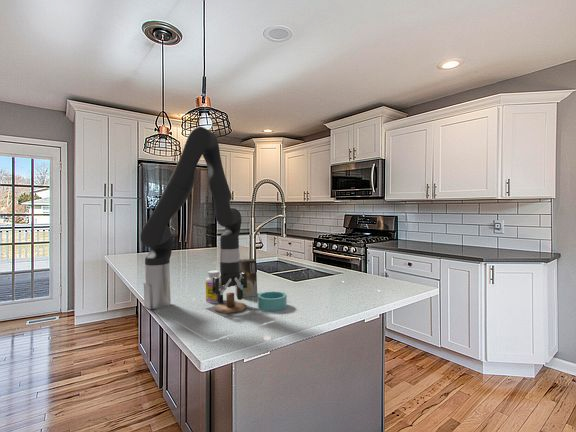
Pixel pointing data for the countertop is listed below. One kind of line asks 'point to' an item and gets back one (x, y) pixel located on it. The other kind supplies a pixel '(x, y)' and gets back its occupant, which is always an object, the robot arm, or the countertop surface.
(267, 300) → the bowl
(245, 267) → the coffee box
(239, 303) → the lid
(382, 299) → the countertop surface
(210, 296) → the supplement bottle
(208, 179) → the robot arm
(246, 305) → the mat
